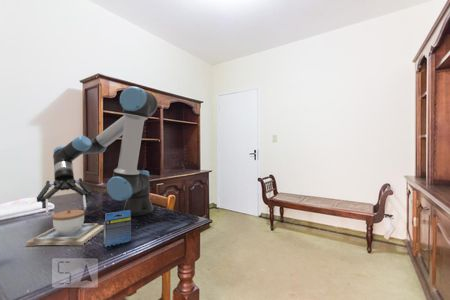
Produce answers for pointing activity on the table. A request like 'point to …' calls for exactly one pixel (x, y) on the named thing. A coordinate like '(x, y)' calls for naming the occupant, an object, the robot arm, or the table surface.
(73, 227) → the lidded jar
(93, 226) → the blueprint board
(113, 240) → the label tape box
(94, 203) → the table surface
